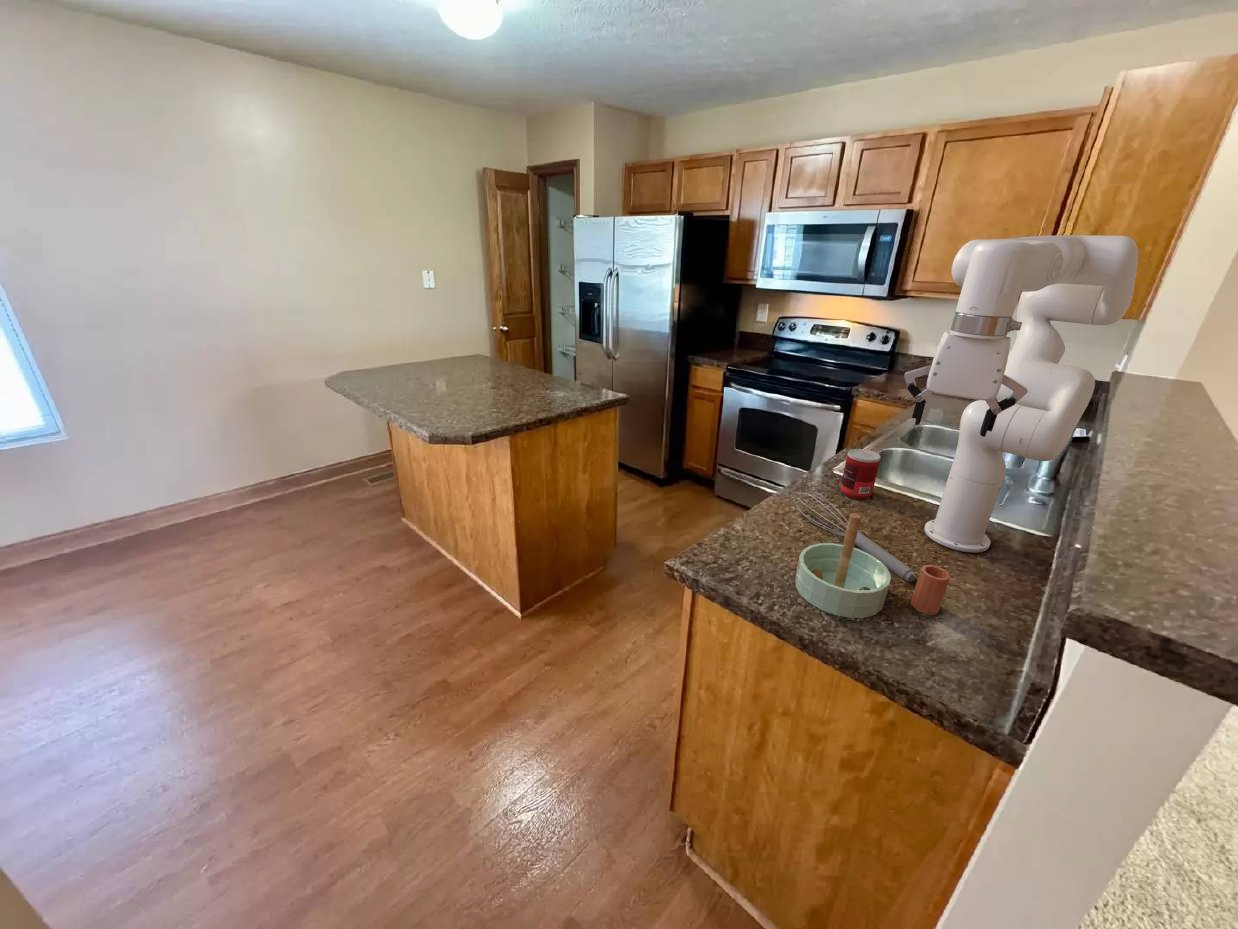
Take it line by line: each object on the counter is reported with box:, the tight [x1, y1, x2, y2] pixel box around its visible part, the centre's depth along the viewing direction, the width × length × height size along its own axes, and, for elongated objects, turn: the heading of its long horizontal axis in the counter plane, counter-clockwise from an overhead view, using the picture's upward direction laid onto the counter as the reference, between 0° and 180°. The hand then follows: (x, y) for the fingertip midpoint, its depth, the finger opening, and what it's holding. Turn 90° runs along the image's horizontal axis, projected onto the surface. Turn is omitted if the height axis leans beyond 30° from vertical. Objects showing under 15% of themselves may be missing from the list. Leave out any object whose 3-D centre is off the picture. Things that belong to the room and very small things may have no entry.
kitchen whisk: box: [796, 491, 918, 583], centre depth 110 cm, size 6×34×6 cm, turn 23°
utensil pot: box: [910, 564, 952, 616], centre depth 90 cm, size 4×4×8 cm
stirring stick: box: [834, 512, 862, 588], centre depth 92 cm, size 2×2×16 cm
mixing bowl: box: [794, 542, 892, 619], centre depth 95 cm, size 15×15×6 cm
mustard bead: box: [811, 569, 823, 579], centre depth 98 cm, size 2×2×2 cm
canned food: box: [840, 448, 882, 500], centre depth 132 cm, size 8×8×11 cm
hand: (949, 428), depth 88 cm, fingers open, 9 cm apart
